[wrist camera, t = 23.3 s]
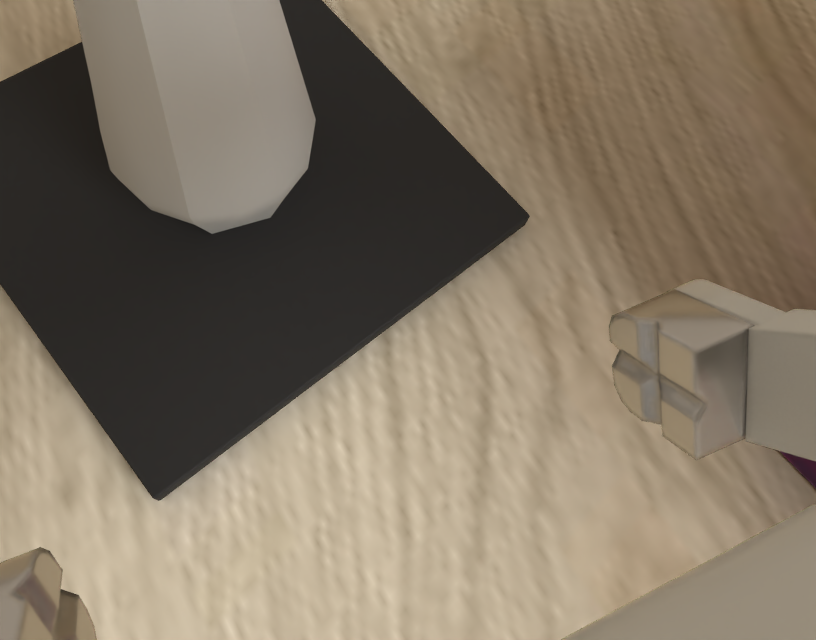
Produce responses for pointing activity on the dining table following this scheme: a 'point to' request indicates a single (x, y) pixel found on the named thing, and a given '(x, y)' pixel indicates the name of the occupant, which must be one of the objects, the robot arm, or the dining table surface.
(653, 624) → the robot arm
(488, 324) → the dining table surface
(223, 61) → the salt shaker
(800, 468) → the decorative box
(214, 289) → the black square mat
